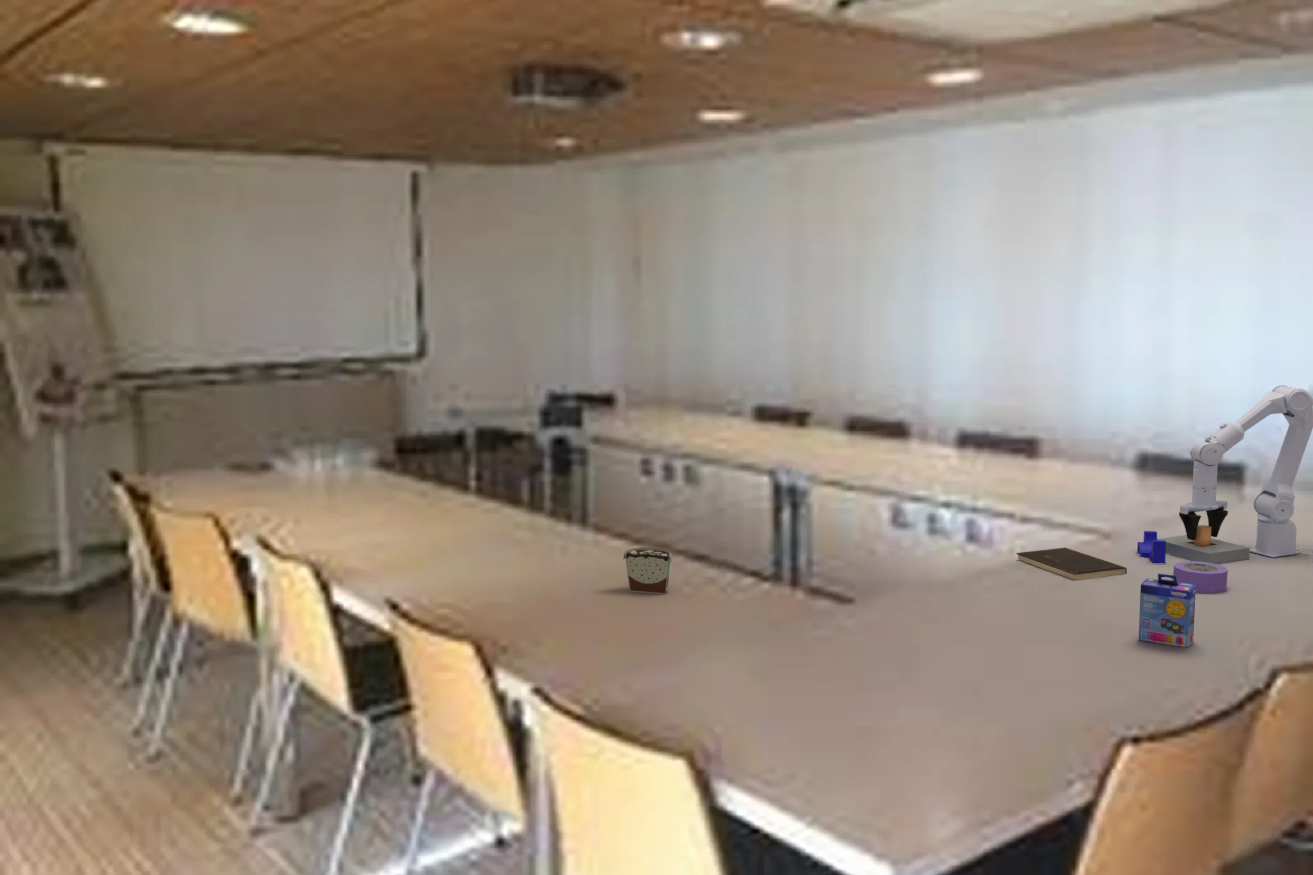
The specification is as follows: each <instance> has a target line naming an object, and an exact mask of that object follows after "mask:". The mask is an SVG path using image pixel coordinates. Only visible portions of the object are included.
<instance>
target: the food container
mask: <svg viewBox="0 0 1313 875" xmlns="http://www.w3.org/2000/svg"><path fill="white" fill-rule="evenodd" d="M671 552H672V551H671V550H670V549H667V548H663V547H659V546H658V547H657V546H640V547H639V546H638V547H632V548H629V549H626V550H624V553H623V560H625V564H626V565H625V566H626V573H627V581H628V582H627V583H628V589H629V590H628V591H629V592H630V593H631V592H632V593H644V594H645V593H646V594H656V595H657V594H658V595H667V594H668V590H669V587H668V586H669V579H670V576H669V575H670V564H671V563H673V561H674V560H673V554H672V553H671Z"/></svg>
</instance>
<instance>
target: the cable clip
mask: <svg viewBox="0 0 1313 875" xmlns="http://www.w3.org/2000/svg"><path fill="white" fill-rule="evenodd" d="M1157 539H1158V532H1157V531H1156V530H1155V531H1153V530H1151V531H1150V530H1143V541H1137V547H1136V548H1137V550H1136V553H1137V552H1138V553H1137V554H1138V555H1139V554H1140V555H1139V556H1140V557H1141V558H1142V557H1144V559H1148V558H1149V559H1150V560H1149V559H1148V560H1149V561H1150V563H1152V564H1153V563H1165V564H1166V555H1167V553H1166V541H1165V540H1157Z"/></svg>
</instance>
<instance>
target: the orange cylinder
mask: <svg viewBox="0 0 1313 875" xmlns="http://www.w3.org/2000/svg"><path fill="white" fill-rule="evenodd" d="M1211 538H1212V536H1211V527H1210V526H1208V524H1206V525H1205V524H1198V527H1197V535H1196V540H1194V545H1198V546H1201V547H1204V546H1210V542H1211Z"/></svg>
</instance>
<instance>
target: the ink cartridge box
mask: <svg viewBox="0 0 1313 875" xmlns="http://www.w3.org/2000/svg"><path fill="white" fill-rule="evenodd" d="M1164 578H1165V579H1164ZM1166 578H1169V579H1166ZM1173 579H1174V580H1173ZM1139 594H1140V596H1139V618H1138V619H1139V620H1138V622H1139V623H1138V641H1143V642H1147V641H1149V642H1148V643H1153V642H1155V643H1154V644H1160V643H1162V644H1161V645H1166V644H1167V646H1172V645H1173V647H1177V646H1181V647H1180V648H1183V647H1188V648H1189V647H1190V646H1191V645H1192V644H1193V643H1194V642H1195V641H1194V639H1195V638H1194V636H1195V635H1194V634H1195V633H1194V632H1195V610H1196V586H1195V585H1193V584H1187V583H1179V582H1177V578H1176V576H1175V575H1173V574H1166V573H1157V579H1154V578H1146V579H1144V581H1142V582H1141V584H1140V593H1139Z"/></svg>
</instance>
